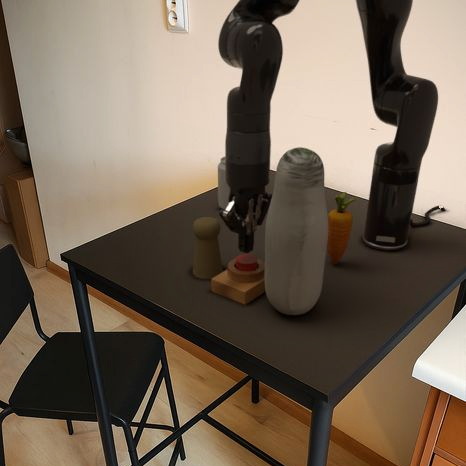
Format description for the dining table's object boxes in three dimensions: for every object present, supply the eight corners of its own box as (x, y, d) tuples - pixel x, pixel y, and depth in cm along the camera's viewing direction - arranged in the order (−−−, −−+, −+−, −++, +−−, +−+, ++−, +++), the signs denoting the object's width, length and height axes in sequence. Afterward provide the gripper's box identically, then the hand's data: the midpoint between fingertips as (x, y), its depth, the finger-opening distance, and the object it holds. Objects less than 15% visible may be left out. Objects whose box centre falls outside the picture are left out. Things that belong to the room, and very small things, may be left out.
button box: (211, 291, 110) (210, 269, 108) (247, 270, 117) (247, 249, 115) (245, 305, 106) (245, 283, 104) (280, 282, 113) (281, 260, 111)
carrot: (332, 256, 122) (340, 186, 114) (352, 264, 119) (361, 192, 111) (317, 264, 119) (324, 192, 111) (337, 272, 117) (345, 199, 108)
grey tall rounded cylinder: (328, 320, 102) (345, 157, 86) (271, 327, 100) (278, 162, 84) (309, 292, 110) (322, 139, 94) (256, 298, 108) (260, 143, 92)
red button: (231, 268, 109) (231, 259, 108) (244, 260, 112) (244, 252, 111) (248, 274, 107) (248, 265, 106) (261, 266, 110) (261, 258, 109)
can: (249, 213, 141) (249, 163, 134) (217, 213, 141) (217, 163, 134) (248, 202, 147) (249, 153, 140) (218, 201, 147) (218, 153, 140)
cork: (198, 281, 114) (197, 228, 107) (188, 268, 118) (185, 216, 112) (227, 275, 116) (227, 222, 109) (216, 262, 120) (215, 211, 114)
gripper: (241, 170, 92) (239, 270, 102) (289, 150, 100) (283, 244, 110) (204, 160, 95) (206, 257, 105) (253, 142, 104) (251, 234, 114)
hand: (246, 250), depth 108 cm, fingers closed
